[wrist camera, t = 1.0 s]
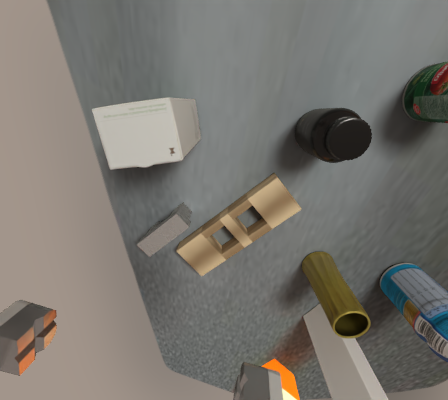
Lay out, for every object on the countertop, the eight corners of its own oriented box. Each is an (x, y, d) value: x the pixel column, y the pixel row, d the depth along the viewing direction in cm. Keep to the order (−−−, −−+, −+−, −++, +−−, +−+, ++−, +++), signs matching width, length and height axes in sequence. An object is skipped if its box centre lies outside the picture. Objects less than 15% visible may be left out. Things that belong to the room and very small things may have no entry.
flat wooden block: (179, 242, 46) (176, 251, 43) (274, 172, 41) (277, 177, 38) (203, 266, 48) (201, 276, 45) (296, 202, 43) (301, 209, 40)
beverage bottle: (403, 253, 46) (522, 353, 27) (430, 276, 48) (560, 384, 29) (368, 281, 48) (455, 390, 30) (395, 301, 50) (493, 417, 31)
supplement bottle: (346, 123, 38) (396, 130, 27) (318, 160, 40) (352, 181, 29) (312, 98, 37) (348, 95, 25) (285, 137, 39) (307, 150, 28)
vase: (336, 271, 48) (377, 335, 34) (305, 280, 49) (334, 345, 35) (329, 247, 46) (370, 304, 32) (298, 256, 47) (325, 315, 33)
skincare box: (195, 98, 37) (173, 93, 22) (202, 142, 39) (186, 162, 25) (143, 106, 38) (87, 105, 23) (152, 148, 40) (108, 172, 25)
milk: (302, 315, 52) (348, 451, 32) (323, 299, 50) (387, 431, 30) (321, 329, 53) (377, 468, 33) (343, 314, 52) (416, 451, 31)
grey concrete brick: (148, 227, 45) (136, 244, 40) (183, 200, 43) (176, 213, 37) (159, 238, 46) (149, 257, 40) (194, 212, 44) (189, 227, 38)
